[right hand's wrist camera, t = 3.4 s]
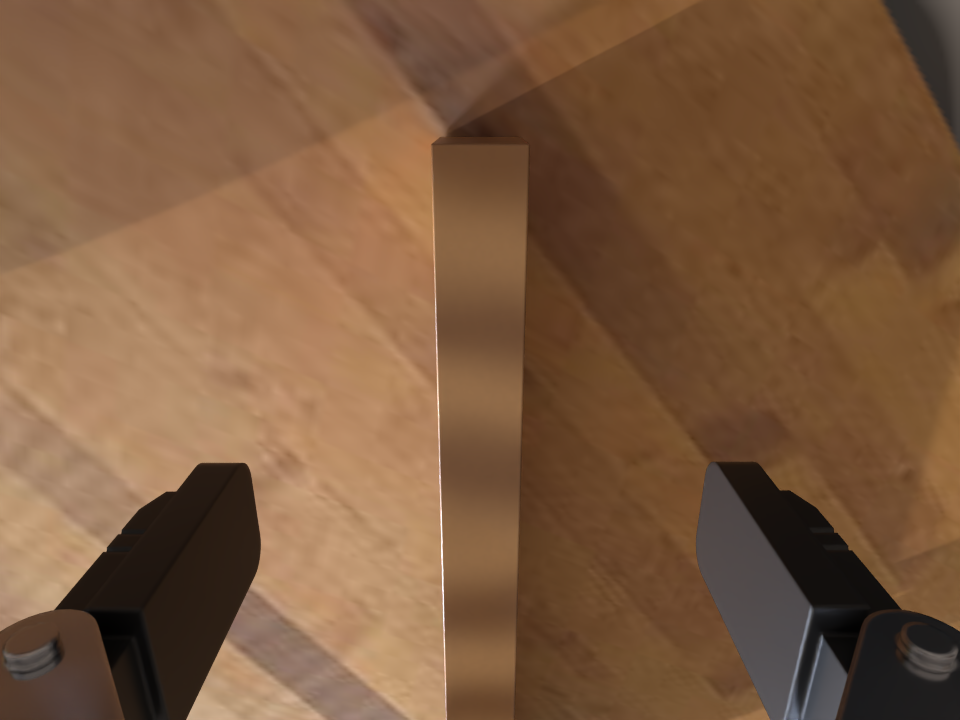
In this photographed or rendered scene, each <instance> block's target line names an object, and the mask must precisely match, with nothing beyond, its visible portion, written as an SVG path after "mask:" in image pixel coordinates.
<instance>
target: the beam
mask: <svg viewBox="0 0 960 720" xmlns="http://www.w3.org/2000/svg"><path fill="white" fill-rule="evenodd" d="M529 158H530V145H529V144H528V143H527V142H526V141H525V140H523V139H522V138H521V137H440V138H439V139H437V140H436V141H435V142H434V143H432V144H431V169H432V207H433V245H434V283H435V321H436V359H437V397H438V435H439V473H440V511H441V549H442V587H443V625H444V663H445V701H446V720H514V715H515V678H516V641H517V604H518V567H519V529H520V492H521V455H522V418H523V381H524V344H525V307H526V269H527V232H528V195H529Z"/></svg>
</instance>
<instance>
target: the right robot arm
mask: <svg viewBox="0 0 960 720" xmlns="http://www.w3.org/2000/svg"><path fill="white" fill-rule="evenodd" d="M260 551H261V539H260V531H259V525H258V518H257V511H256V505H255V498H254V491H253V484H252V478H251V473H250V470H249V467H248V466H247V464H245V463H200V464H198V465H197V466H196V467H195V469H194V470H193V471H192V472H191V474H190V475H189V476H188V478H187V479H186V480H185V481H184V483H183V484H182V485H181V486H180V488H179V489H178V490H177V491H176V492H165V493H164V494H162V495H161V496H159V497H158V498H156V499H154V500H153V501H151V502H150V503H148V504H147V505H145V506H144V507H142V508H141V509H139V510H138V511H137V513H136V514H135V515H134V516H133V517H132V519H131V520H130V521H129V522H128V523H127V525H126V526H125V527H124V528H123V529H122V533H121V534H118V535H117V536H116V538H115V539H114V540H113V541H112V542H111V543H110V545H109V546H108V547H107V552H103V553H102V554H101V555H100V556H99V558H98V559H97V560H96V561H95V562H94V564H93V565H92V566H91V567H90V568H89V569H88V571H87V572H86V573H85V574H84V575H83V577H82V578H81V579H80V580H79V581H78V582H77V584H76V585H75V586H74V587H73V588H72V590H71V591H70V592H69V593H68V594H67V596H66V597H65V598H64V599H63V600H62V601H61V603H60V604H59V605H58V606H57V607H56V609H55V610H54V611H48V612H44V613H40V614H37V615H34V616H31V617H28V618H26V619H23V620H21V621H18V622H16V623H15V624H13V625H11V626H9V627H7V628H5V629H4V630H2V631H0V720H186V719H187V717H188V714H189V712H190V710H191V708H192V706H193V704H194V702H195V700H196V698H197V696H198V694H199V691H200V689H201V687H202V685H203V683H204V681H205V679H206V677H207V675H208V673H209V671H210V669H211V666H212V664H213V662H214V660H215V658H216V656H217V654H218V652H219V650H220V648H221V646H222V644H223V641H224V639H225V637H226V635H227V633H228V631H229V629H230V627H231V625H232V623H233V621H234V618H235V616H236V614H237V612H238V610H239V608H240V606H241V604H242V602H243V600H244V598H245V596H246V593H247V591H248V589H249V587H250V585H251V583H252V581H253V579H254V577H255V574H256V572H257V569H258V565H259V560H260ZM696 553H697V560H698V565H699V568H700V571H701V574H702V576H703V578H704V580H705V583H706V585H707V587H708V589H709V591H710V593H711V595H712V597H713V599H714V602H715V604H716V606H717V608H718V610H719V612H720V614H721V616H722V618H723V621H724V623H725V625H726V627H727V629H728V631H729V633H730V635H731V637H732V640H733V642H734V644H735V646H736V648H737V650H738V652H739V654H740V656H741V659H742V661H743V663H744V665H745V667H746V669H747V671H748V673H749V675H750V678H751V680H752V682H753V684H754V686H755V688H756V690H757V692H758V694H759V697H760V699H761V701H762V703H763V705H764V707H765V709H766V711H767V713H768V716H769V718H770V720H960V631H958V630H956V629H955V628H953V627H951V626H949V625H947V624H945V623H944V622H942V621H939V620H937V619H934V618H932V617H929V616H926V615H923V614H920V613H916V612H912V611H906V610H902V609H901V608H900V607H899V606H898V605H897V604H896V602H895V601H894V600H893V599H892V598H891V596H890V595H889V594H888V593H887V592H886V590H885V589H884V588H883V587H882V586H881V584H880V583H879V582H878V581H877V580H876V578H875V577H874V576H873V575H872V574H871V572H870V571H869V570H868V569H867V568H866V567H865V565H864V564H863V563H862V562H861V561H860V559H859V558H858V557H857V556H856V555H855V553H854V552H853V551H852V550H849V549H848V545H847V544H846V543H845V541H844V540H843V539H842V538H841V537H840V535H839V534H838V533H834V528H833V527H832V526H831V525H830V524H829V522H828V521H827V520H826V519H825V518H824V516H823V515H822V514H821V513H820V512H819V510H818V509H817V508H816V507H814V506H813V505H811V504H810V503H808V502H806V501H805V500H803V499H802V498H800V497H799V496H797V495H796V494H794V493H793V492H791V491H790V490H779V489H778V488H777V487H776V485H775V484H774V483H773V481H772V480H771V479H770V478H769V476H768V475H767V474H766V472H765V471H764V470H763V469H762V467H761V466H760V465H759V464H758V463H756V462H711V463H710V464H709V465H708V467H707V470H706V474H705V480H704V487H703V494H702V501H701V508H700V514H699V521H698V528H697V535H696Z"/></svg>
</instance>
